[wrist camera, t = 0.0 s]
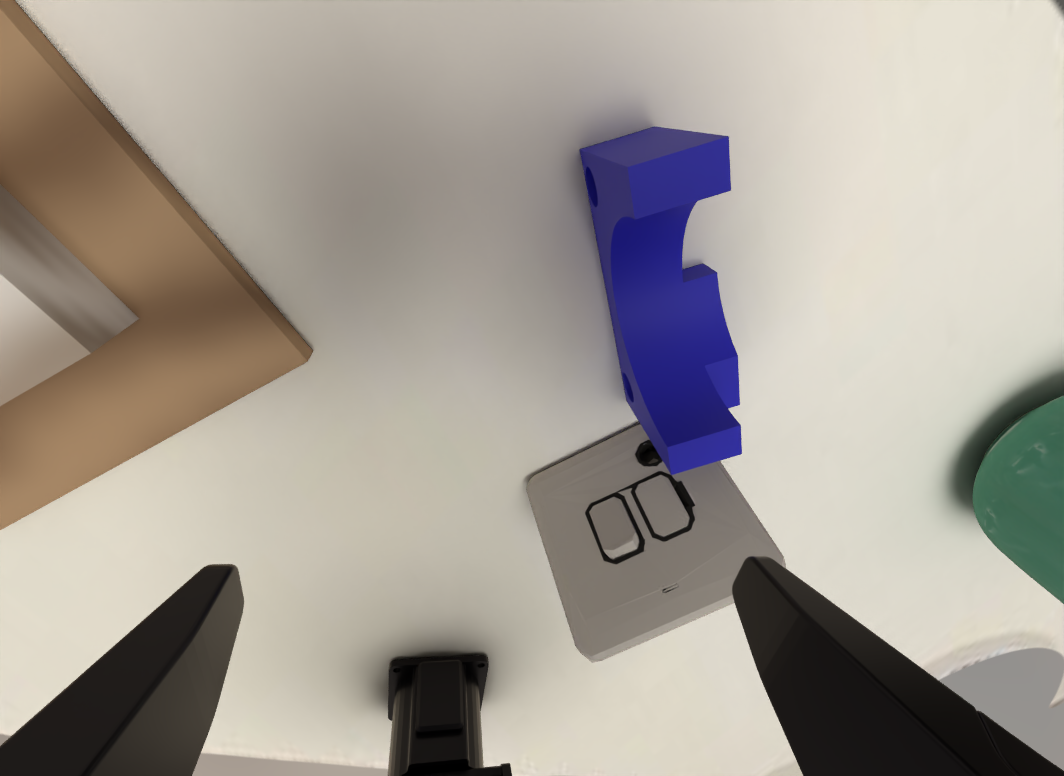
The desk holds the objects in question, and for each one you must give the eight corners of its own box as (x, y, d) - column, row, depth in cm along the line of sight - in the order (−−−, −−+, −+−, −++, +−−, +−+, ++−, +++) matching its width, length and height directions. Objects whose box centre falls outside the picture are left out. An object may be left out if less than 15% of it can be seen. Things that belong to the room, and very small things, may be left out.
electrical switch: (680, 398, 26) (788, 545, 18) (702, 459, 29) (802, 606, 21) (520, 476, 27) (561, 644, 19) (558, 527, 30) (605, 689, 22)
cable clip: (710, 373, 26) (776, 443, 20) (625, 399, 26) (671, 475, 20) (690, 115, 19) (779, 120, 14) (578, 149, 19) (627, 167, 14)
